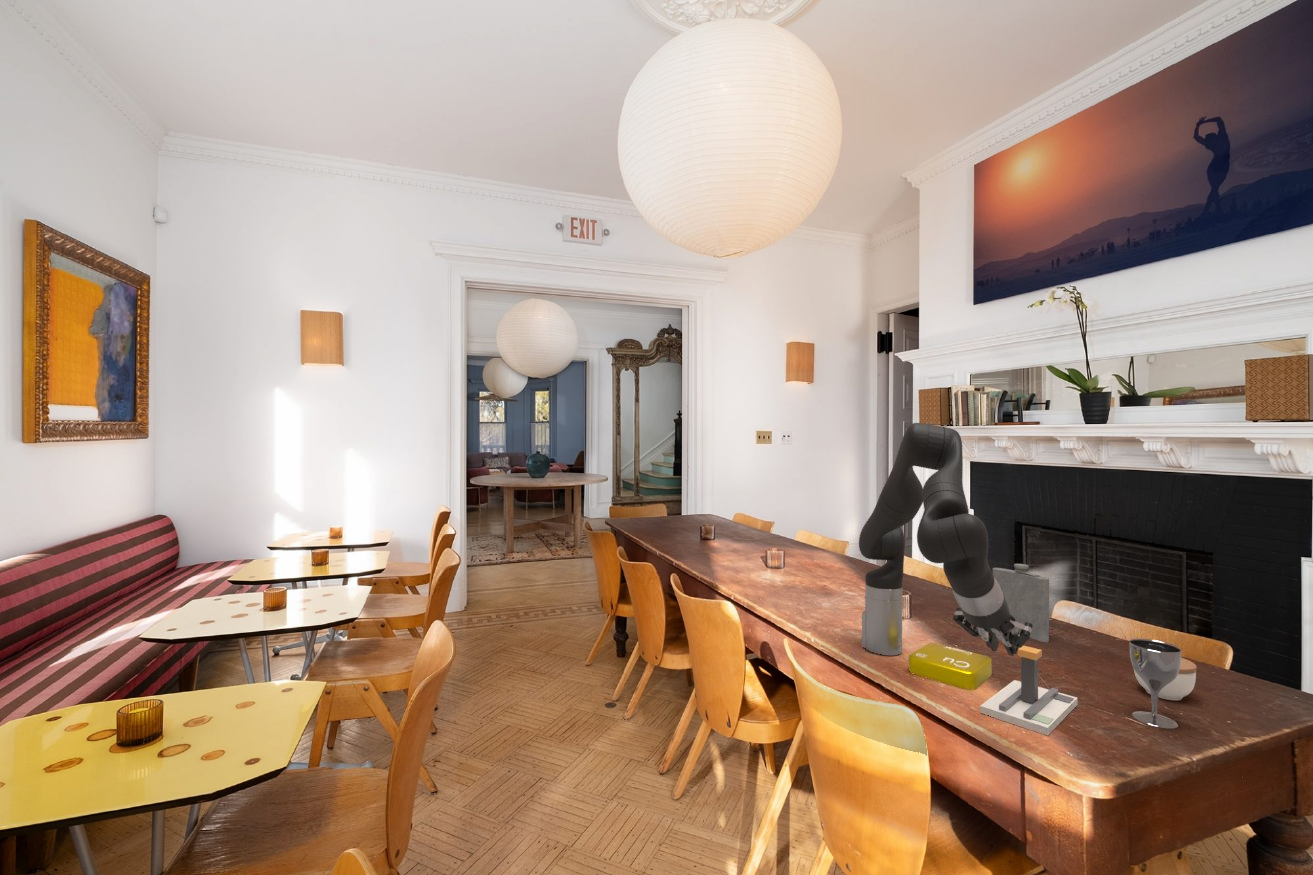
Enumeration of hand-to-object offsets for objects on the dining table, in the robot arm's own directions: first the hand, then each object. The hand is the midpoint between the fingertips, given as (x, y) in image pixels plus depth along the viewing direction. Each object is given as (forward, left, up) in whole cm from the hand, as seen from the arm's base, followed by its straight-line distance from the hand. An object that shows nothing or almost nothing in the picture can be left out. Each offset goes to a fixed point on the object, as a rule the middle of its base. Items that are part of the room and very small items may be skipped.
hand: (1003, 649), depth 113 cm
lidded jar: (+17, +46, -16) cm, 52 cm away
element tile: (-19, +22, -17) cm, 33 cm away
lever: (0, +15, -14) cm, 21 cm away
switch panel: (0, +15, -16) cm, 22 cm away
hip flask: (-18, +68, -16) cm, 72 cm away
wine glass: (+18, +29, -16) cm, 38 cm away
